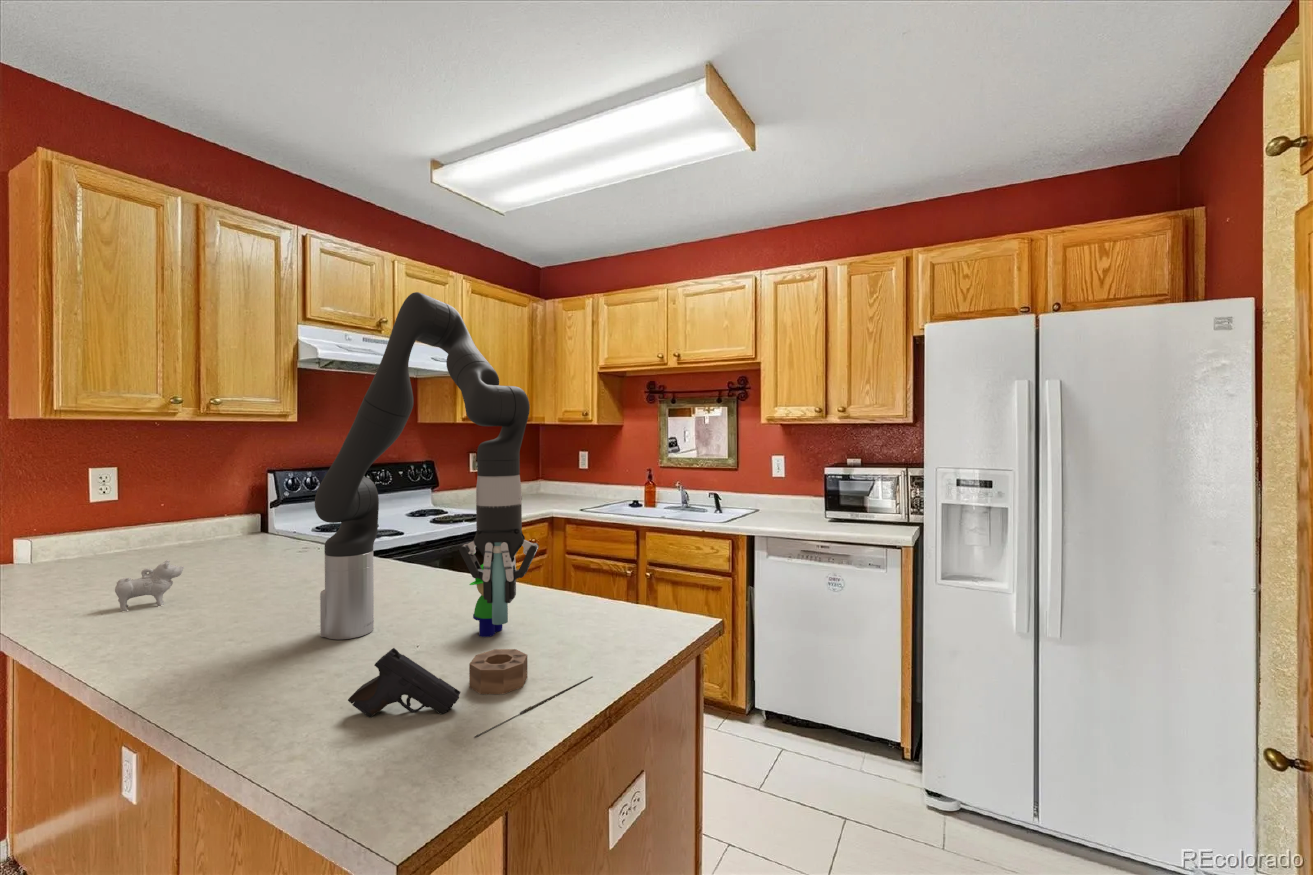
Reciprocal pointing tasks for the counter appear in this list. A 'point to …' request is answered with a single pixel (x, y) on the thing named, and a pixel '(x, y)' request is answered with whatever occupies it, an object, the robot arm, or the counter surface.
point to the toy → (484, 613)
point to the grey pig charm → (148, 584)
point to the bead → (498, 671)
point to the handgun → (403, 687)
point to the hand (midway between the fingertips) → (500, 601)
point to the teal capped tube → (498, 588)
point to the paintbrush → (538, 704)
